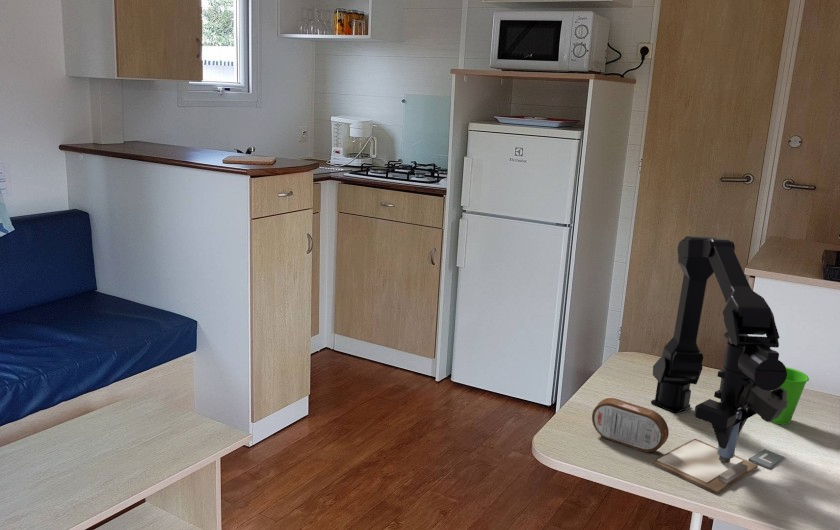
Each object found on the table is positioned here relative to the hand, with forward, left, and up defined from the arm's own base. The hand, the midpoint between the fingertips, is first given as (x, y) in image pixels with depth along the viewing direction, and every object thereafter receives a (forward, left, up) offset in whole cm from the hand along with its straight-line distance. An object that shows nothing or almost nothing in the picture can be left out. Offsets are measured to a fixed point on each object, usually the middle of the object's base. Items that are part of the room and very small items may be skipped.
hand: (726, 445), depth 136 cm
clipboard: (-2, -3, -4) cm, 6 cm away
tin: (-16, -8, -5) cm, 19 cm away
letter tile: (+4, +10, -4) cm, 11 cm away
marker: (0, 0, -3) cm, 3 cm away
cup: (-3, +31, -4) cm, 31 cm away
